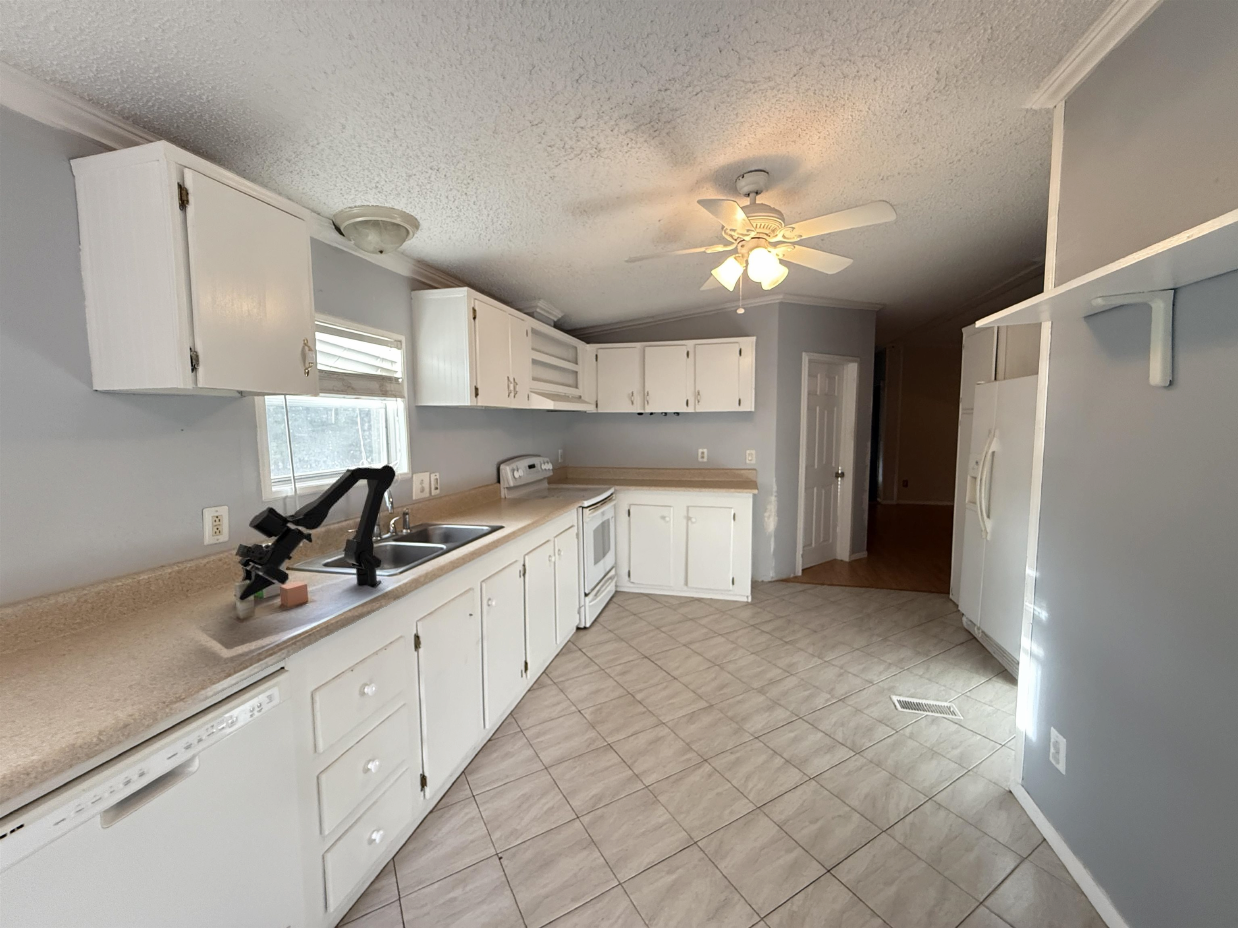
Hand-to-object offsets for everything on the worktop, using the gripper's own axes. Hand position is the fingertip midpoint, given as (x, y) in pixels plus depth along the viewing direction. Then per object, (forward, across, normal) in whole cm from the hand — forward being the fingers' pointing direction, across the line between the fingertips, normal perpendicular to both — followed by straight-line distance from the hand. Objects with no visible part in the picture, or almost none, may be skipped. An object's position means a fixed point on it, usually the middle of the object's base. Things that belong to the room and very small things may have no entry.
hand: (238, 598), depth 127 cm
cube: (-6, 0, +13) cm, 14 cm away
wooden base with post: (-1, 0, +10) cm, 10 cm away
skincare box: (-4, -16, +14) cm, 21 cm away
